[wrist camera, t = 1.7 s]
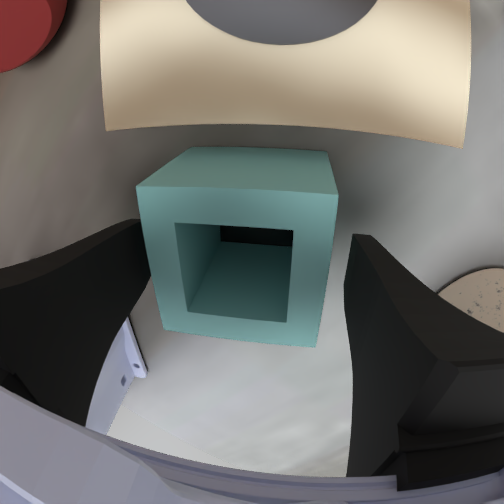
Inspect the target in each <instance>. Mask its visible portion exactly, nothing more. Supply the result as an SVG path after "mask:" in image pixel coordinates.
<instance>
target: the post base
mask: <svg viewBox="0 0 504 504" xmlns="http://www.w3.org/2000/svg"><path fill="white" fill-rule="evenodd" d="M100 56H101V78H102V94H103V106H104V117H105V127H106V131H111V130H121V129H131V128H142V127H155V126H171V125H193V124H271V125H293V126H309V127H322V128H334V129H344V130H353V131H362V132H370V133H378V134H385V135H392V136H398V137H404V138H411V139H416V140H422V141H427V142H433V143H438V144H443V145H448V146H452V147H457V148H461V149H463V143H464V136H465V129H466V121H467V112H468V101H469V89H470V72H471V18H470V1H469V0H101V2H100Z"/></svg>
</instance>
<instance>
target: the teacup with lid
mask: <svg viewBox="0 0 504 504" xmlns="http://www.w3.org/2000/svg"><path fill="white" fill-rule="evenodd" d="M438 295H439V296H440V297H442V298H443V299H444V300H446V301H447V302H449V303H450V304H452V305H453V306H455V307H457V308H458V309H460V310H462V311H463V312H465V313H466V314H468V315H470V316H472V317H473V318H475V319H477V320H479V321H481V322H483V323H485V324H486V325H488V326H490V327H492V328H494V329H496V330H499V331H501V332H503V333H504V269H500V268H491V269H484V270H480V271H477V272H474V273H471V274H469V275H466V276H464V277H462V278H460V279H458V280H457V281H455V282H453V283H452V284H450V285H449V286H447V287H446V288H445V289H443V290H442V291H441V292H440V293H439V294H438Z"/></svg>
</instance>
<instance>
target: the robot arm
mask: <svg viewBox="0 0 504 504" xmlns="http://www.w3.org/2000/svg"><path fill="white" fill-rule="evenodd" d="M150 276H151V271H150V266H149V261H148V256H147V251H146V246H145V241H144V235H143V229H142V224H141V219H129V220H126V221H123V222H120V223H117V224H115V225H113V226H110V227H108V228H106V229H104V230H101V231H99V232H97V233H95V234H93V235H91V236H89V237H86V238H84V239H82V240H80V241H78V242H75V243H73V244H71V245H69V246H66V247H64V248H62V249H60V250H57V251H55V252H52V253H50V254H47V255H44V256H42V257H39V258H36V259H33V260H28V261H27V262H23V263H20V264H17V265H13V266H10V267H6V268H1V269H0V504H504V333H503V332H501V331H499V330H496V329H494V328H492V327H490V326H488V325H486V324H485V323H483V322H481V321H479V320H477V319H475V318H473V317H472V316H470V315H468V314H466V313H465V312H463V311H462V310H460V309H458V308H457V307H455V306H453V305H452V304H450V303H449V302H447V301H446V300H444V299H443V298H442V297H440V296H439V295H438V294H436V293H435V292H434V291H432V290H431V289H429V288H428V287H427V286H426V285H424V284H423V283H422V282H421V281H420V280H418V279H417V278H416V277H415V276H414V275H413V274H412V273H410V272H409V271H408V270H407V269H406V268H405V267H404V266H403V265H402V264H401V263H399V262H398V261H397V260H396V259H395V258H394V257H393V256H392V255H391V254H390V253H389V252H388V251H387V250H386V249H385V248H384V247H383V246H382V245H381V244H380V243H379V242H378V241H377V240H376V239H375V238H373V237H372V236H371V235H363V234H353V235H352V241H351V247H350V253H349V259H348V264H347V270H346V275H345V280H344V310H345V317H346V324H347V330H348V337H349V344H350V351H351V359H352V370H353V404H352V425H351V438H350V450H349V459H348V467H347V474H346V477H310V476H293V475H281V474H271V473H262V472H254V471H246V470H240V469H233V468H227V467H221V466H216V465H211V464H206V463H201V462H196V461H192V460H187V459H183V458H179V457H175V456H171V455H167V454H163V453H160V452H156V451H153V450H149V449H145V448H143V447H139V446H136V445H133V444H130V443H127V442H124V441H120V440H118V439H115V438H112V437H109V436H106V434H107V432H108V430H109V428H110V426H111V424H112V422H113V420H114V418H115V415H116V413H117V411H118V409H119V407H120V405H121V403H122V401H123V399H124V397H125V395H126V393H127V391H128V389H129V387H130V384H131V382H132V380H133V378H134V376H136V377H140V378H145V377H146V376H147V374H148V372H147V370H146V367H145V364H144V362H143V359H142V356H141V353H140V351H139V348H138V345H137V342H136V339H135V336H134V334H133V331H132V328H131V325H130V322H129V318H128V315H129V314H130V312H131V310H132V309H133V307H134V306H135V304H136V302H137V301H138V299H139V298H140V296H141V294H142V293H143V291H144V289H145V287H146V285H147V283H148V281H149V279H150Z"/></svg>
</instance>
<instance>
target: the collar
mask: <svg viewBox="0 0 504 504" xmlns="http://www.w3.org/2000/svg"><path fill="white" fill-rule="evenodd" d="M136 192H137V199H138V205H139V212H140V218H141V224H142V229H143V235H144V241H145V246H146V251H147V256H148V261H149V266H150V271H151V276H152V281H153V285H154V290H155V294H156V299H157V303H158V307H159V311H160V316H161V320H162V324H163V328H164V330H169V331H175V332H182V333H188V334H195V335H202V336H209V337H216V338H224V339H232V340H240V341H249V342H258V343H268V344H279V345H290V346H302V347H316V342H317V336H318V331H319V326H320V320H321V315H322V309H323V303H324V298H325V292H326V285H327V279H328V273H329V266H330V259H331V252H332V245H333V238H334V230H335V222H336V214H337V206H338V197H339V194H338V191H337V187H336V183H335V179H334V176H333V172H332V169H331V165H330V162H329V158H328V155H327V152H326V151H313V150H299V149H281V148H258V147H190V148H189V149H187V150H186V151H184V152H183V153H181V154H180V155H179V156H177V157H176V158H174V159H173V160H171V161H170V162H169V163H167V164H166V165H164V166H163V167H162V168H160V169H159V170H157V171H156V172H155V173H153V174H152V175H150V176H149V177H148V178H146V179H145V180H144V181H142V182H141V183H140V184H138V185H137V186H136ZM220 225H226V226H242V227H257V228H271V229H285V230H294V234H293V247H288V246H275V245H262V244H248V243H234V242H221V236H220Z"/></svg>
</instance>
